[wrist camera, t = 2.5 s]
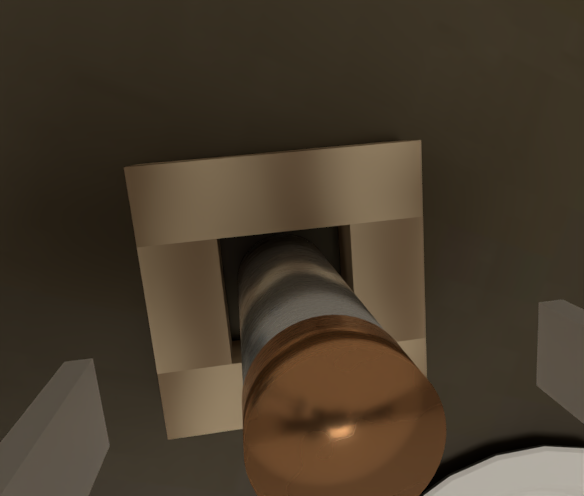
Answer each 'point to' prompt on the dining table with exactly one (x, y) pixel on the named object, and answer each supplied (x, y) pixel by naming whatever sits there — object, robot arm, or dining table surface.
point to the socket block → (260, 220)
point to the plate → (519, 474)
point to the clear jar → (327, 385)
